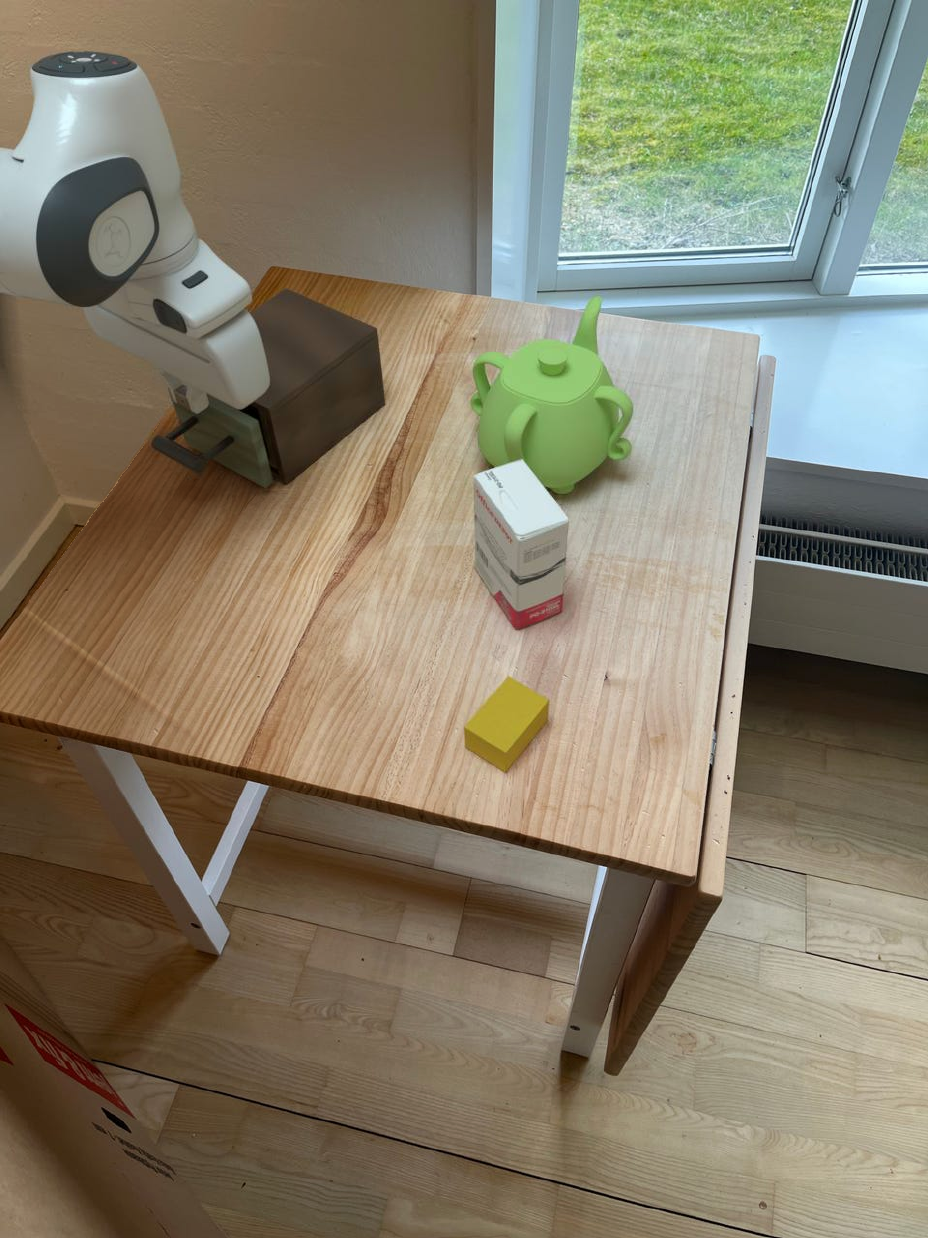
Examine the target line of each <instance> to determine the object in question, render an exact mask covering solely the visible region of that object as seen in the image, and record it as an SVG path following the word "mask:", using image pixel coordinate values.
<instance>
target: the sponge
mask: <svg viewBox="0 0 928 1238" xmlns="http://www.w3.org/2000/svg"><path fill="white" fill-rule="evenodd" d="M549 710H550V699H549V698H547V697H545V696H544V695H542V694H540V693H539V692H537V691H536V690H533V689H532V688H530V687H528V686H526V685H525V684H523V683H521V682H520V681H518V680H517V679H514V678H513V677H511V676H506V678H505V679H504V680H503V681H502V683H501V684H500V685H499V686H498V687H497V688H496V690H495V691H494V692H493V693H492V694H491V695H490V696H489V697H488V699H486V701H485V702H484V703H483V704H482V705H481V707H480V708H479V709H478V710H477V711H476V712H475V713H474V715H472V717H471V718H470V719H469V720H468V722H467V723H466V724H465V725H464V726H463V733H464V734H463V735H464V747H465V748H466V749H468V750H469V751H470V752H472V753H474V754H475V755H477V756H479V757H480V758H482V759H484V760H485V761H486V762H488V763H490V764H491V765H493V766H494V767H496V768H497V769H499V770H501V771H502V772H504V773H506V772H507V771H508V770H509V769H510V768H511V766H512V765H513V764H514V763H515V761H516V760H517V759H518V758H519V757H520V755H521V754H522V753H523V752H524V750H525V749H526V747H528V745H529V744H530V743H531V742H532V741H533V739H534V738H535V737H536V735H537V734H538V733H539V732H540V731H541V729H542V728H543V727H544V726H545V725H546V723H547V722H548V720H549Z"/></svg>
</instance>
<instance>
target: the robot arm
mask: <svg viewBox="0 0 928 1238" xmlns="http://www.w3.org/2000/svg"><path fill="white" fill-rule="evenodd" d="M29 79H30V86H31V92H32V95H33V104H32V111H31V115H30V119H29V121H28V125H27V127H26V129H25V132H24V134H23V136H22V138H21V140H20V141H19V142H18V144H17V145H16V147H15V148H14V149H13V148H7V147H0V293H1V294H5V295H10V296H16V297H21V298H25V299H32V300H37V301H41V302H46V303H50V304H57V305H62V306H66V307H67V306H68V307H78V308H82V311H83V313H84V316H85V320H86V322H87V324H88V325H89V327H90V328H91V330H92V331H93V332H94V334H95V335H96V336H97V337H98V338H100V339H102V340H104V341H106V342H107V343H109V344H112V345H113V346H115V347H117V348H119V349H121V350H123V351H125V352H127V353H129V354H131V355H133V356H135V357H137V358H138V359H140V360H142V361H144V362H146V363H147V364H150V365H152V366H153V368H154V371H155V372H156V373H157V375H158V376H159V377H160V379H161V381H162V382H163V383H164V384H165V386H166V387H167V389H168V388H169V389H170V392H171V395H172V398H173V401H174V402H175V403H178V404H180V405H182V406H184V407H185V408H187V409H189V410H191V411H192V412H194V413H196V414H198V413H200V412H201V411H203V410H204V409H205V408H207V407H208V404H209V401H208V398H207V394H209V395H211V396H213V397H215V398H217V399H219V400H221V401H223V402H224V403H226V404H228V405H230V406H232V407H234V408H236V409H243V408H245V407H247V406H248V405H250V404H251V403H253V402H254V401H255V400H257V399H258V398H259V397H260V396H262V395H263V394H264V393H265V392H266V390H267V389H268V387H269V384H270V376H269V370H268V365H267V360H266V355H265V351H264V347H263V343H262V340H261V336H260V333H259V330H258V327H257V325H256V323H255V321H254V319H253V317H252V316H251V315H250V312H249V311H248V310H247V307H248V306H249V305H250V304H252V302H253V294H252V291H251V287H250V285H249V283H248V282H247V280H246V279H245V278H243V277H242V276H241V275H240V274H239V273H237V272H236V271H235V270H233V268H232V267H230V266H229V265H228V264H227V263H225V262H224V261H223V259H221V258H220V257H219V256H218V255H217V254H216V253H214V251H213V250H212V249H211V247H209V245H208V244H207V243H206V242H205V241H204V240H203V239H201V238H199V237H198V234H197V233H198V232H197V230H196V225H195V223H194V219H193V217H192V215H191V214H190V212H189V210H188V209H187V207H186V205H185V203H184V200H183V198H182V189H181V188H182V186H181V185H182V176H181V175H182V173H181V168H180V166H179V162H178V157H177V153H176V150H175V146H174V143H173V140H172V136H171V133H170V130H169V127H168V124H167V122H166V119H165V116H164V112H163V110H162V106H161V104H160V101H159V99H158V97H157V95H156V92H155V90H154V88H153V86H152V84H151V82H150V80H149V78H148V76H147V75H146V73H145V72H144V70H143V69H142V68H141V66H140V65H138V63H136V62H134V61H132V60H131V59H130V58H128V57H126V56H123V55H118V54H114V53H113V54H112V53H107V52H99V51H89V50H88V51H87V50H84V51H65V52H58V53H55V54H51V55H50V54H49V55H47V56H45V57H42V58H41V59H39V60H38V61H36V62H35V63H34V64H32V65H31V67H30V70H29ZM206 393H207V394H206Z"/></svg>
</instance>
